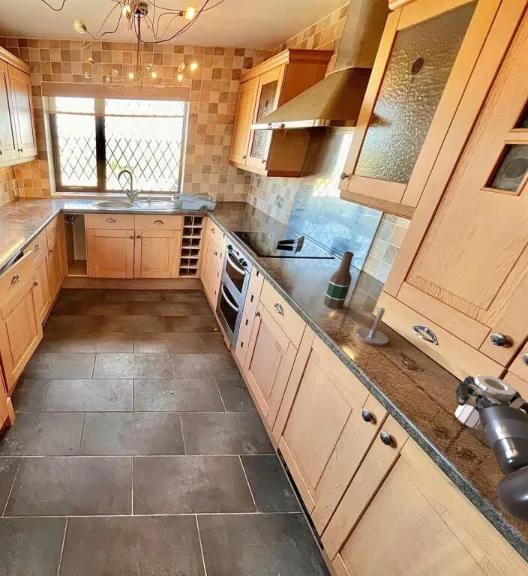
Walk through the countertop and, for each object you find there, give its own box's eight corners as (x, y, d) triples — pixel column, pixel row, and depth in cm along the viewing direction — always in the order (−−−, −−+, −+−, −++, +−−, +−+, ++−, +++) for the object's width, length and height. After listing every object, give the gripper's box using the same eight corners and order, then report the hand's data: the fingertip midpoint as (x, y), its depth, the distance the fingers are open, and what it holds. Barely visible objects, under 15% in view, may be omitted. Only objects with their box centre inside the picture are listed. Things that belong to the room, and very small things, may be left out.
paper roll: (482, 414, 79) (506, 379, 73) (495, 434, 74) (522, 398, 68) (450, 406, 81) (471, 371, 76) (461, 425, 76) (484, 389, 71)
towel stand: (383, 333, 113) (395, 305, 108) (390, 348, 106) (403, 318, 100) (353, 328, 117) (363, 300, 111) (357, 342, 109) (368, 313, 104)
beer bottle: (336, 311, 128) (353, 257, 117) (319, 303, 134) (333, 251, 123) (347, 306, 131) (364, 253, 121) (330, 298, 138) (345, 248, 127)
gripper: (577, 439, 57) (541, 384, 69) (471, 406, 64) (455, 362, 77) (554, 465, 60) (523, 408, 73) (456, 431, 68) (443, 384, 80)
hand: (488, 384), depth 75 cm, fingers closed on paper roll, 6 cm apart
